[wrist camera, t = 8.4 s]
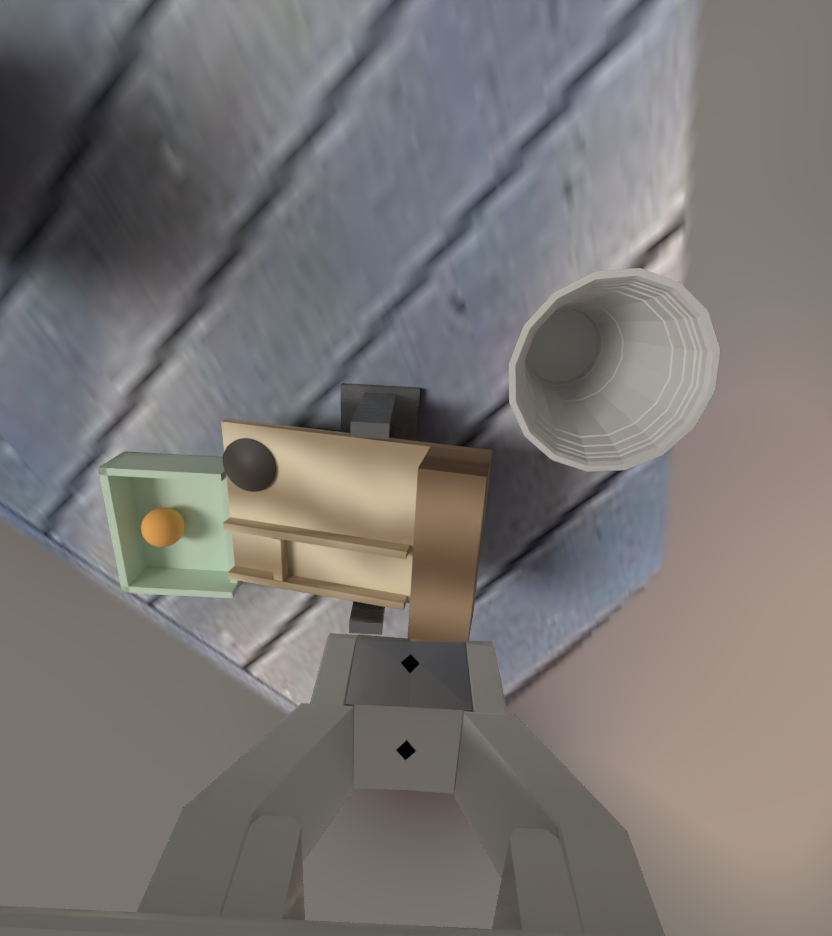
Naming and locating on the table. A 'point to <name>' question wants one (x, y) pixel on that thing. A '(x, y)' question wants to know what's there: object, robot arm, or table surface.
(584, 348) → the plastic cup
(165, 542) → the ball
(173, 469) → the tray
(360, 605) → the stand
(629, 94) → the table surface
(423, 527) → the lever
